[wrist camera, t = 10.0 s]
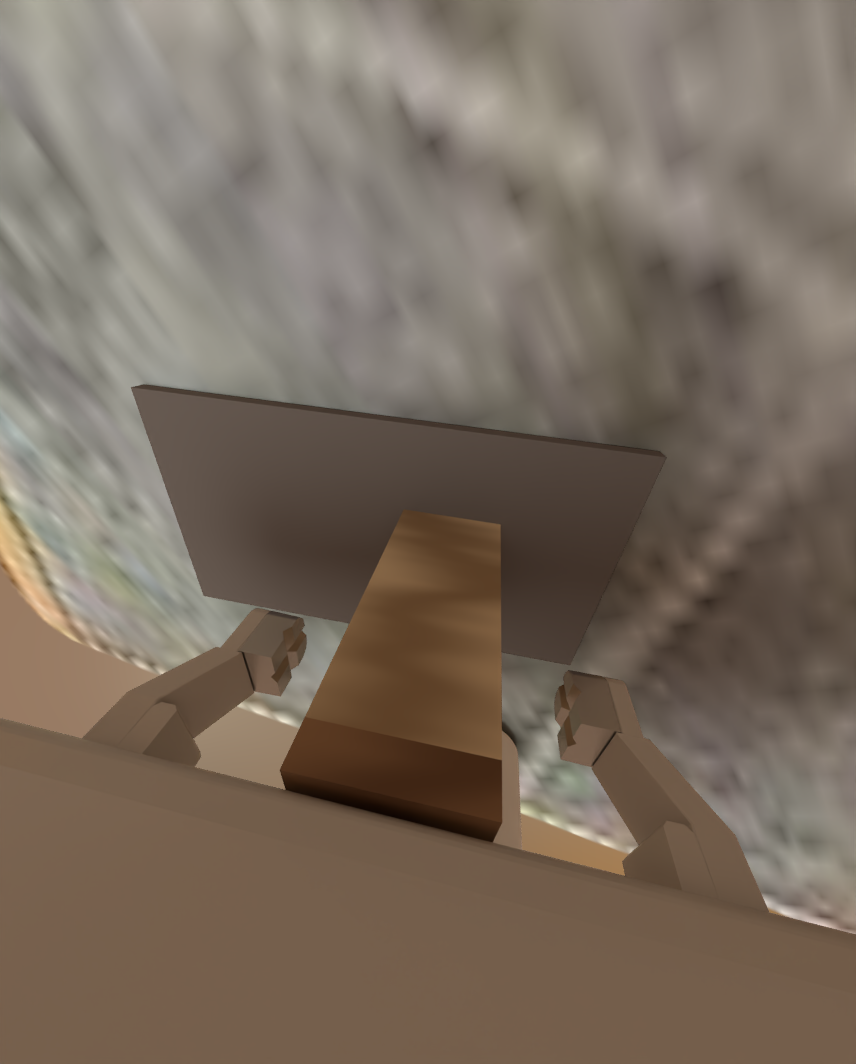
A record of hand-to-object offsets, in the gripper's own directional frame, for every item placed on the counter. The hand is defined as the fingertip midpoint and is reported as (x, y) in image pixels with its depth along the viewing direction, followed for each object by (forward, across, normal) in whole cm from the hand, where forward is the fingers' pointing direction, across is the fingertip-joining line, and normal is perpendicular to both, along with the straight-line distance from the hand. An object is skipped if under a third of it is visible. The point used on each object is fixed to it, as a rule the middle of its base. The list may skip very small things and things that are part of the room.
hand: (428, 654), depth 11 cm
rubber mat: (+6, +3, 0) cm, 7 cm away
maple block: (+6, 0, 0) cm, 6 cm away
